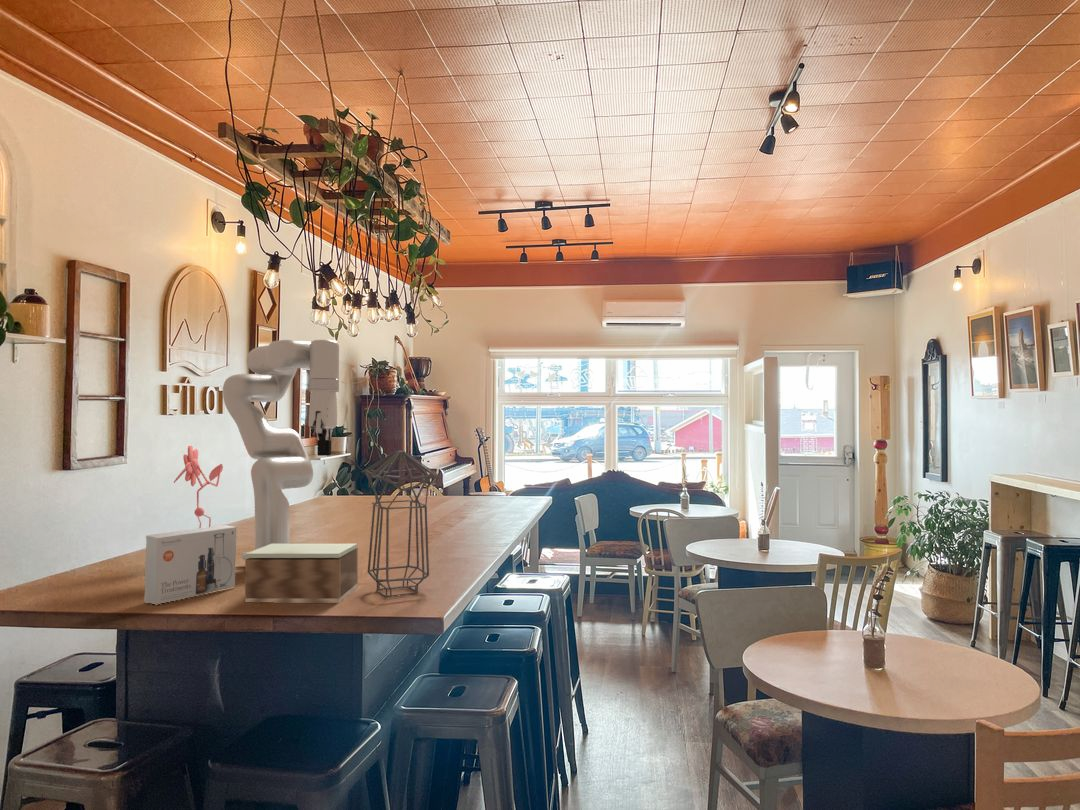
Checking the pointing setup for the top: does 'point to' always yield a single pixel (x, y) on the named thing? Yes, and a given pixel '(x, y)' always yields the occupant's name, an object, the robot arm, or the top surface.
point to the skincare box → (189, 563)
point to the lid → (302, 551)
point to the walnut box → (301, 579)
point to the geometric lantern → (386, 463)
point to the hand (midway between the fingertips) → (324, 455)
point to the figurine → (195, 471)
